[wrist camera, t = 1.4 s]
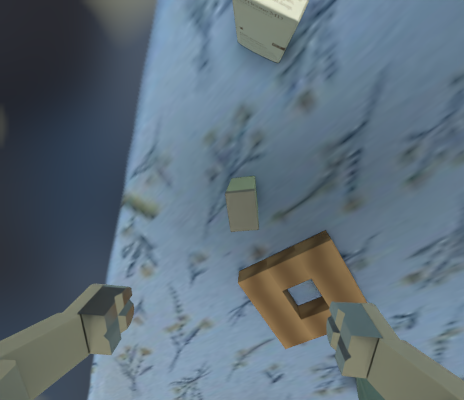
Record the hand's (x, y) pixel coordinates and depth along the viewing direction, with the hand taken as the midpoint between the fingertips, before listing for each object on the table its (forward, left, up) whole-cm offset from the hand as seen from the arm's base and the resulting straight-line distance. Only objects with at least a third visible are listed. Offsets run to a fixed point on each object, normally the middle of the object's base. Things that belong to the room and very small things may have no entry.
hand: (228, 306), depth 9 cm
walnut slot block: (-7, +21, -26) cm, 34 cm away
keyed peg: (+1, +3, -26) cm, 26 cm away
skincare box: (-4, -17, -26) cm, 32 cm away
